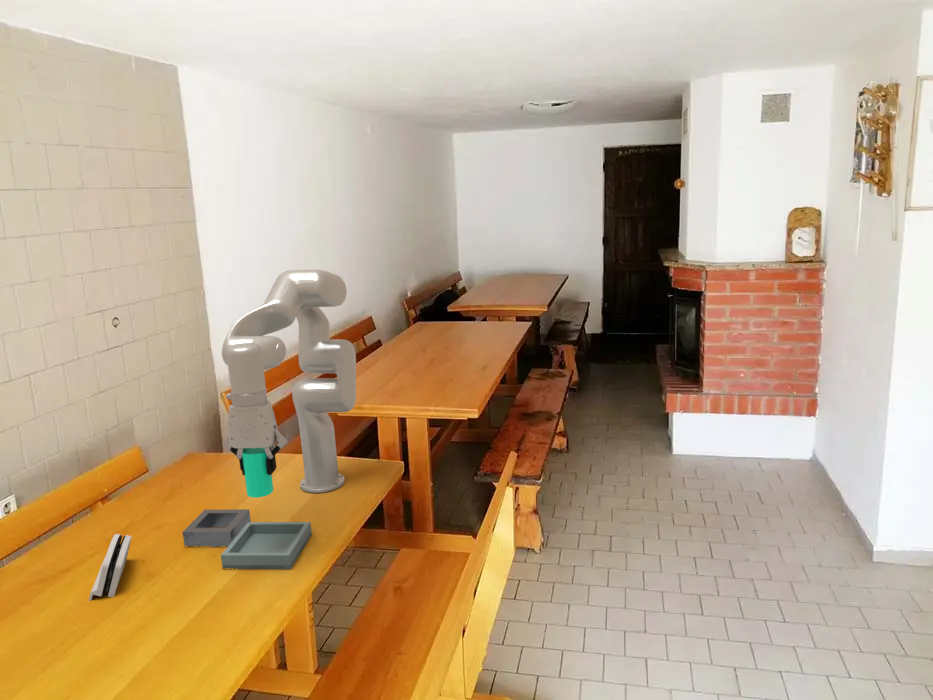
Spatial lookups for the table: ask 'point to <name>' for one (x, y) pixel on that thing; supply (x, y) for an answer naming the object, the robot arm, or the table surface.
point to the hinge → (112, 567)
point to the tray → (267, 545)
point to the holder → (206, 536)
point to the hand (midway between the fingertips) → (259, 472)
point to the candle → (256, 473)
